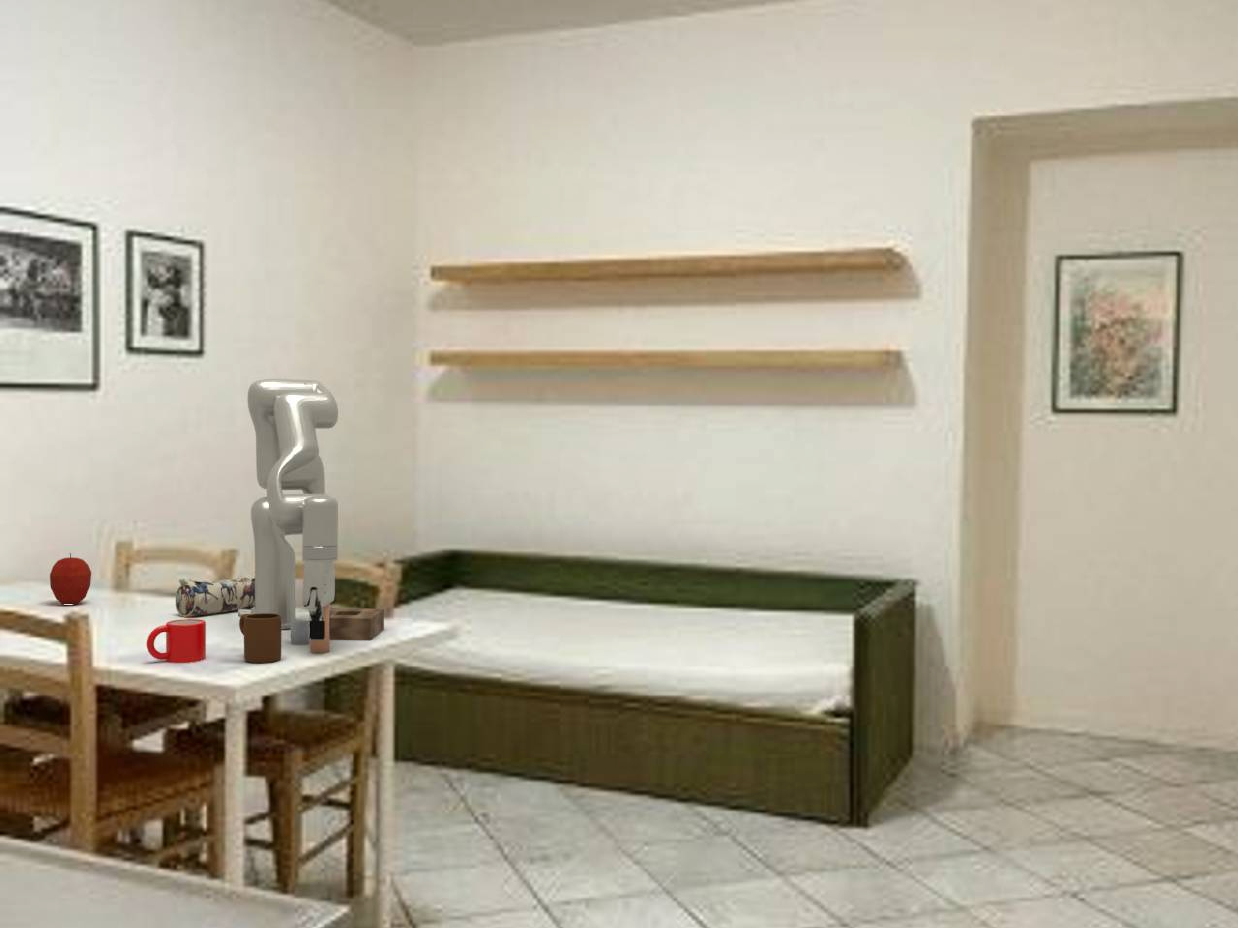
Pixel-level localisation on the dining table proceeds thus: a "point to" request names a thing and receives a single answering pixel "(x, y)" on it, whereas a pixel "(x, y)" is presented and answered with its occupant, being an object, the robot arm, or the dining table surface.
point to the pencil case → (215, 596)
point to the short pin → (299, 632)
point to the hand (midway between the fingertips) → (319, 636)
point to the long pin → (323, 645)
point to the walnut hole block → (355, 623)
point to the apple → (70, 580)
